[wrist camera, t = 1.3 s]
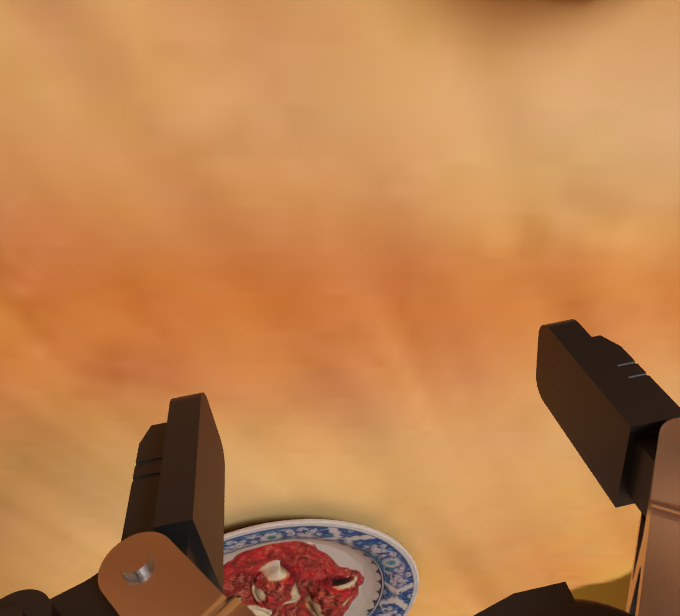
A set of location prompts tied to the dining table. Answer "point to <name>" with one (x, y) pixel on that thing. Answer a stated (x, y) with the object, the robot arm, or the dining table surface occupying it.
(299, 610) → the ceramic plate
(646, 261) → the dining table surface
